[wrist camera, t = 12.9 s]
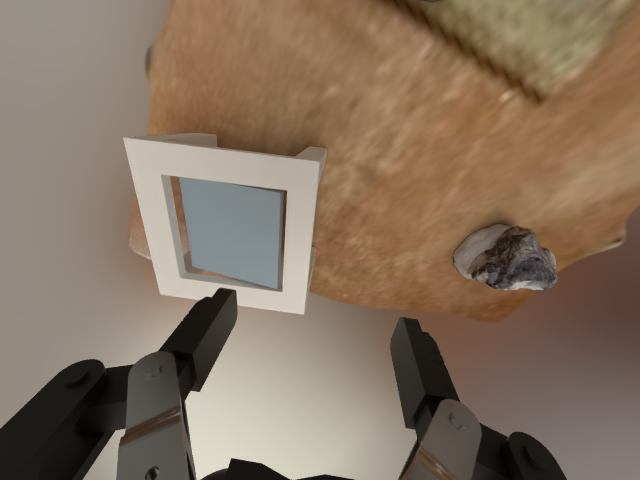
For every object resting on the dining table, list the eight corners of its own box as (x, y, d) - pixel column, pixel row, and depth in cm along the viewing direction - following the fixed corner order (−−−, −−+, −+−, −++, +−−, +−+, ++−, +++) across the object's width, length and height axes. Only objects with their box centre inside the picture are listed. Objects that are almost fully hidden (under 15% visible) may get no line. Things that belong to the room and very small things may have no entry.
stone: (463, 280, 51) (464, 309, 38) (444, 237, 52) (440, 251, 39) (545, 262, 44) (581, 289, 31) (523, 212, 44) (550, 219, 32)
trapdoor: (184, 172, 32) (178, 174, 31) (283, 191, 29) (280, 193, 28) (197, 263, 38) (192, 266, 37) (280, 285, 35) (277, 289, 34)
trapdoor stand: (199, 132, 41) (123, 137, 27) (327, 148, 40) (319, 161, 26) (211, 246, 51) (160, 294, 36) (314, 259, 50) (304, 314, 36)
